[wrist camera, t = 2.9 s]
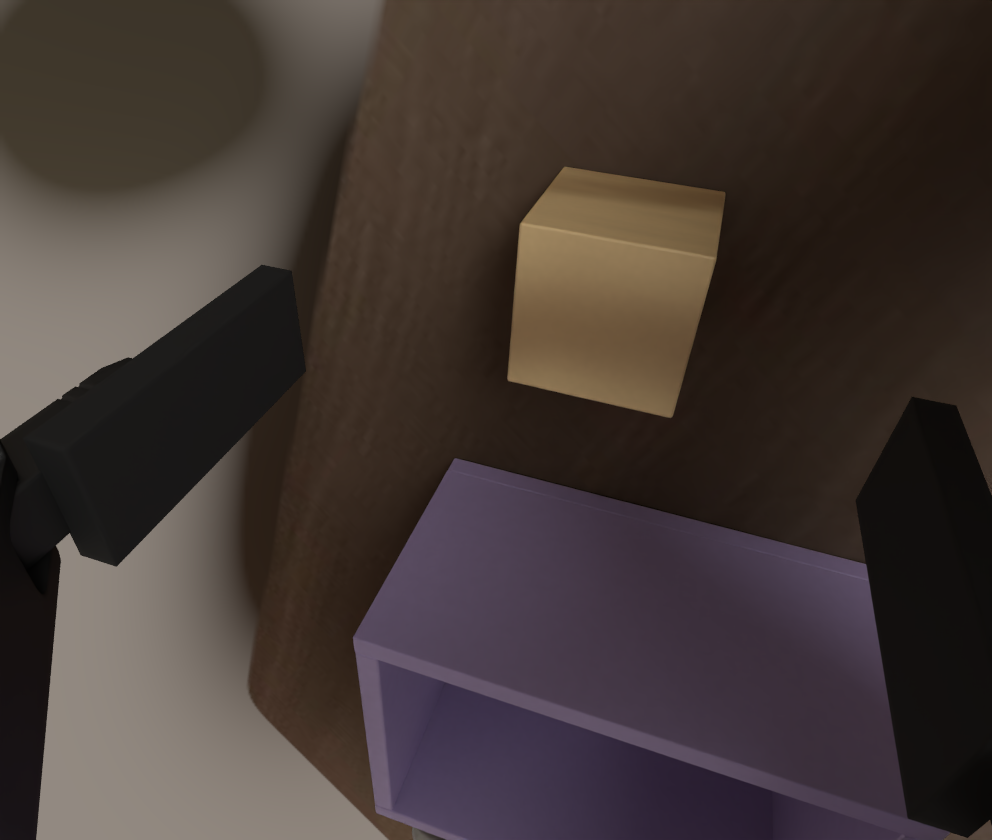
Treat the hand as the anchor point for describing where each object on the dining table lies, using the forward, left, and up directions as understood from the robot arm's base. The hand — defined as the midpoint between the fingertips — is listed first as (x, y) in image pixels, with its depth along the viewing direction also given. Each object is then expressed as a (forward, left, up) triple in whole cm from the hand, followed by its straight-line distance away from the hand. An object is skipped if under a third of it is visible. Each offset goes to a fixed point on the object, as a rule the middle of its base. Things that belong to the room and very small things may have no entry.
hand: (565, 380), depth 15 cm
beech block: (0, 0, -7) cm, 7 cm away
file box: (+16, +3, -7) cm, 18 cm away
